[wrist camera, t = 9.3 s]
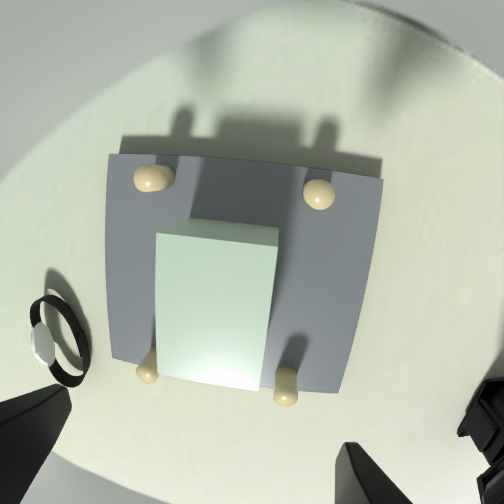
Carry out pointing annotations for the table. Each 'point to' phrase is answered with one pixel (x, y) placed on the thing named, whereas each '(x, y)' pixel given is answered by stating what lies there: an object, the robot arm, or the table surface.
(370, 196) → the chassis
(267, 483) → the table surface
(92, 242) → the table surface
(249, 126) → the table surface
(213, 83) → the table surface
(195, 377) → the board block
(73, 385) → the watch
